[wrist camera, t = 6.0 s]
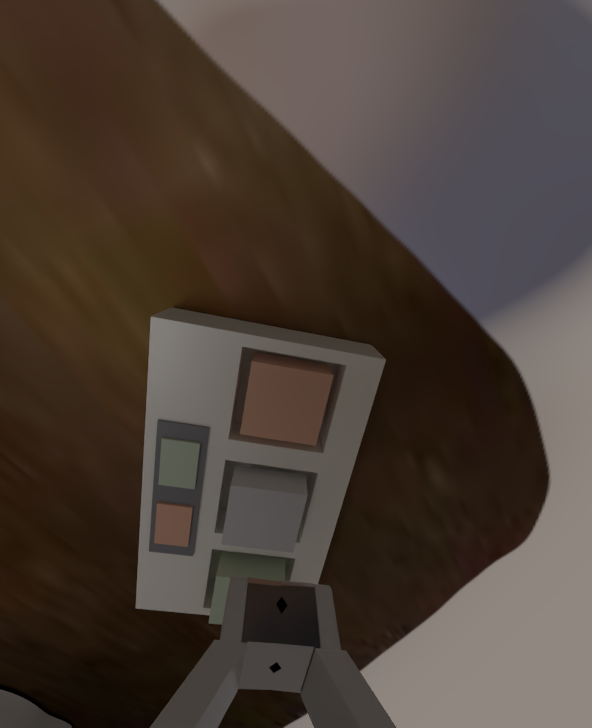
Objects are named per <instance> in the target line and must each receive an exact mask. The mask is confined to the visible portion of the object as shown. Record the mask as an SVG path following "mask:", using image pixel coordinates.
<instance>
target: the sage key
mask: <svg viewBox="0 0 592 728" xmlns="http://www.w3.org/2000/svg"><path fill="white" fill-rule="evenodd" d="M231 575H233V576H243V577H251V578H258V579H266V580H274V581H285V558H277V557H268V556H260V555H251V554H242V553H233V552H225V551H221V555H220V560H219V565H218V569H217V574H216V580H215V586H214V592H213V598H212V605H211V611H210V617H209V623H210V624H221V625H222V622H223V616H224V610H225V605H226V599H227V593H228V588H229V582H230V578H231Z"/></svg>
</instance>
